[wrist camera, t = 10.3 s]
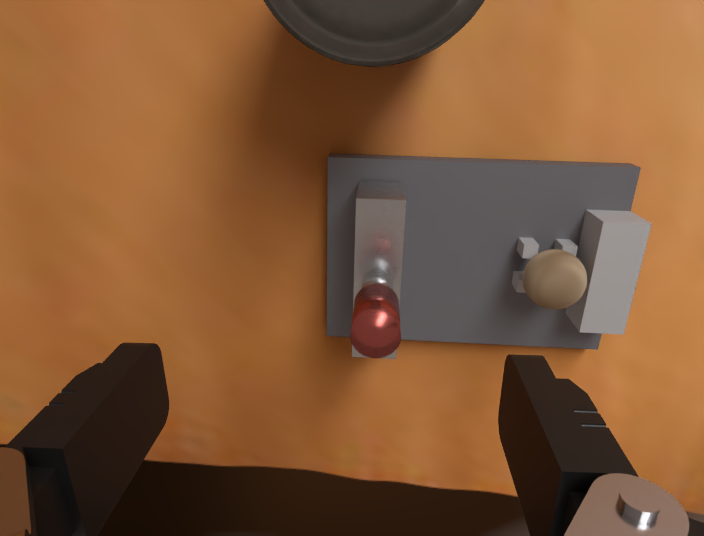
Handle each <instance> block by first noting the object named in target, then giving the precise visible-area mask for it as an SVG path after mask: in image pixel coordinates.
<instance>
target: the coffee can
mask: <svg viewBox="0 0 704 536" xmlns="http://www.w3.org/2000/svg"><path fill="white" fill-rule="evenodd" d="M484 1H485V0H264V2H265V3H266V5H267V6H268V8H269V9H270V11H271V12H272V14H273V15H274V16H275V18H276V19H277V20H278V21H279V22H280V23H281V24H282V25H283V26H284V28H285V29H286V30H287V31H288V32H290V33H291V34H292V35H293V36H294V37H295V38H296V39H298V40H299V41H300V42H302V43H303V44H304V45H306V46H307V47H309V48H310V49H312V50H314V51H316V52H317V53H319V54H321V55H323V56H325V57H328V58H330V59H333V60H336V61H339V62H342V63H346V64H351V65H359V66H369V67H374V66H387V65H394V64H398V63H403V62H407V61H410V60H413V59H415V58H418V57H420V56H422V55H424V54H427V53H429V52H431V51H432V50H434V49H436V48H438V47H439V46H441V45H442V44H443V43H445V42H446V41H448V40H449V39H450V38H451V37H452V36H454V35H455V34H456V33H457V32H458V31H459V30H461V29H462V28H463V27H464V26H465V24H466V23H468V22H469V21H470V20H471V18H472V17H473V16H474V15H475V13H476V12H477V11H478V9H479V8H480V7H481V5H482V4H483V2H484Z"/></svg>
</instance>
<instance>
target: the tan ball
mask: <svg viewBox="0 0 704 536" xmlns="http://www.w3.org/2000/svg"><path fill="white" fill-rule="evenodd" d="M522 281H523V287H524V290H525V292H526V294H527V295H528V297H529V298H530V299H531V300H532V301H533V302H534V303H536V304H537V305H539V306H541V307H544V308H547V309H563V308H566V307H569V306H571V305H573V304H574V303H576V302H577V301H578V300H579V299H580V298H581V297H582V295H583V294H584V292H585V289H586V286H587V273H586V270H585V268H584V266H583V264H582V263H581V261H580V260H579V259H578V258H577V257H576V256H574V255H573V254H571V253H569V252H567V251H564V250H558V249H550V250H545V251H542V252H540V253H538V254H536V255H535V256H534V257H532V258H531V259H530V260H529V262H528V263H527V264H526V266H525V268H524V271H523V277H522Z"/></svg>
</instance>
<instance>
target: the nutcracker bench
mask: <svg viewBox="0 0 704 536" xmlns="http://www.w3.org/2000/svg"><path fill="white" fill-rule="evenodd" d="M639 173H640V167H638V166H635V165H633V164H626V163H596V162H566V161H537V160H507V159H477V158H447V157H417V156H387V155H357V154H329V156H328V189H327V336H339V337H350V333H351V325H352V317H353V294H354V257H355V220H356V196H357V192H358V187H359V182H360V181H379V182H403V183H404V189H405V195H406V213H405V228H404V243H403V259H402V274H401V290H400V305H399V312H400V328H401V340H419V341H438V342H458V343H478V344H498V345H518V346H538V347H558V348H578V349H597V350H598V346H599V342H600V338H601V334H602V333H604V334H624V331H625V327H626V323H627V319H628V315H629V311H630V307H631V303H632V299H633V295H634V291H635V288H636V284H637V280H638V276H639V272H640V268H641V264H642V260H643V256H644V252H645V248H646V244H647V240H648V236H649V233H650V229H651V225H652V224H651V223H650V222H648V221H646V220H645V219H643V218H641V217H639V216H638V215H636V214H634V213H633V212H631V206H632V202H633V198H634V194H635V189H636V185H637V181H638V177H639ZM550 249H558V250H564V251H567V252H569V253H571V254H573V255H574V256H576V257H577V258H578V259H579V260H580V261H581V263H582V264H583V266H584V268H585V270H586V273H587V286H586V289H585V292H584V294H583V295H582V297H581V298H580V299H579V300H578V301H577V302H576V303H574V304H573V305H571V306H569V307H566V308H563V309H547V308H544V307H541V306H539V305H537V304H536V303H534V302H533V301H532V300H531V299H530V298H529V297H528V295H527V294H526V292H525V290H524V287H523V281H522V277H523V271H524V268H525V266H526V264H527V263H528V262H529V260H530V259H531V258H532V257H534V256H535V255H536V254H538V253H540V252H542V251H545V250H550Z"/></svg>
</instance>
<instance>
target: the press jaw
mask: <svg viewBox="0 0 704 536" xmlns="http://www.w3.org/2000/svg"><path fill="white" fill-rule="evenodd" d="M405 213H406V195H405V189H404V183H403V182H379V181H360V182H359V187H358V192H357V196H356V220H355V257H354V294H353V317H352V325H351V333H350V338H351V342H352V357H366V358H386V359H396V351H397V348H398V346H399V344H400V341H401V328H400V312H399V305H400V290H401V274H402V259H403V243H404V228H405Z"/></svg>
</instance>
